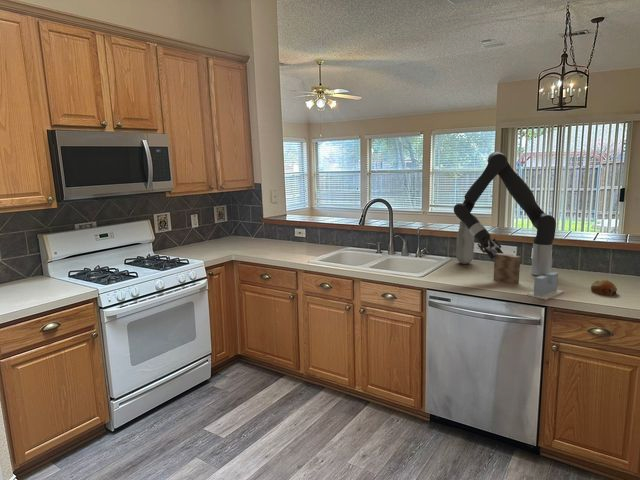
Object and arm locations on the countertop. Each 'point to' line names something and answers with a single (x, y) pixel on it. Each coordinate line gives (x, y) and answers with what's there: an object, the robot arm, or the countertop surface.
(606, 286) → the bread roll
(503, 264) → the walnut board
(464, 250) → the grey bottle
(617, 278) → the countertop surface
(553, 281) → the notched stand
